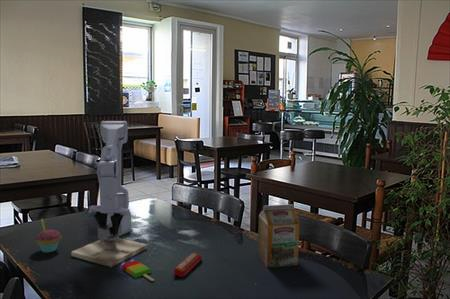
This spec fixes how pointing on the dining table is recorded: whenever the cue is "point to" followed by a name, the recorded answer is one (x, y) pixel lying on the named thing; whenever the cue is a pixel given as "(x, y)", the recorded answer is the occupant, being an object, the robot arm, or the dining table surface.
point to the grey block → (108, 233)
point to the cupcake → (48, 239)
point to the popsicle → (137, 269)
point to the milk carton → (278, 236)
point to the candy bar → (187, 264)
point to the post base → (109, 251)
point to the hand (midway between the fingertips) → (109, 233)
